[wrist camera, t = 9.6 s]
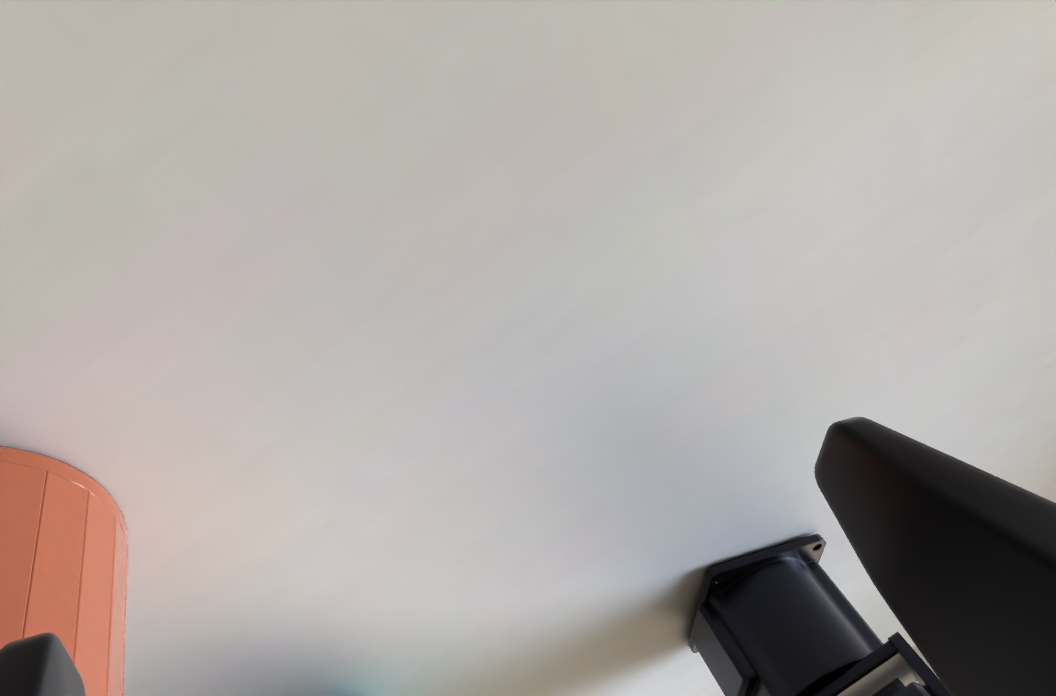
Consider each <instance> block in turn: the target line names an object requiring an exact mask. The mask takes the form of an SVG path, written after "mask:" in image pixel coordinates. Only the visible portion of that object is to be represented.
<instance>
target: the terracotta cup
mask: <svg viewBox="0 0 1056 696" xmlns="http://www.w3.org/2000/svg"><path fill="white" fill-rule="evenodd" d="M127 558H128V545H127V528H126V524H125V520H124V517H123V514H122V512H121V511H120V509H119V507H118V505H117V503H116V502H115V501H114V499H113V498H112V497H111V496H110V494H109V493H108V492H107V491H106V490H105V489H104V488H103V487H102V486H101V485H100V484H98V483H97V482H96V481H95V480H93V479H92V478H91V477H89V476H88V475H86V474H85V473H83V472H82V471H80V470H78V469H76V468H74V467H72V466H70V465H68V464H66V463H64V462H61V461H58V460H56V459H53V458H51V457H48V456H45V455H41V454H38V453H34V452H30V451H26V450H21V449H16V448H10V447H3V446H0V650H1V648H3V647H4V646H5V645H6V644H8V643H10V642H12V641H15V640H19V639H23V638H27V637H31V636H34V635H38V634H42V633H47V632H51V633H54V634H55V635H57V636H58V637H59V639H60V640H61V642H62V644H63V646H64V647H65V649H66V651H67V653H68V654H69V656H70V658H71V660H72V661H73V663H74V665H75V667H76V669H77V670H78V672H79V674H80V676H81V678H82V681H83V684H84V688H85V694H86V696H123V678H124V648H125V618H126V588H127Z"/></svg>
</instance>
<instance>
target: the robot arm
mask: <svg viewBox="0 0 1056 696" xmlns="http://www.w3.org/2000/svg"><path fill="white" fill-rule="evenodd" d="M815 478H816V481H817V484H818V486H819V488H820V490H821V492H822V494H823V495H824V497H825V499H826V501H827V502H828V504H829V506H830V508H831V510H832V511H833V513H834V515H835V517H836V518H837V520H838V522H839V524H840V526H841V527H842V529H843V531H844V533H845V534H846V536H847V538H848V540H849V542H850V543H851V545H852V547H853V549H854V550H855V552H856V554H857V556H858V558H859V559H860V561H861V563H862V565H863V566H864V568H865V570H866V572H867V573H868V575H869V577H870V578H871V580H872V582H873V583H874V585H875V586H876V588H877V589H878V591H879V592H880V594H881V596H882V597H883V599H884V600H885V602H886V603H887V604H888V606H889V607H890V609H891V610H892V612H893V613H894V614H895V616H896V617H897V619H898V620H899V622H900V623H901V625H902V626H903V627H904V629H905V630H906V632H907V633H908V635H909V636H910V637H911V639H912V640H913V642H914V643H915V645H916V646H917V647H918V649H919V650H920V652H921V653H922V655H923V656H924V657H925V659H926V660H927V662H928V663H929V665H930V666H931V667H932V669H933V670H934V672H935V673H936V675H937V676H938V678H939V679H940V680H941V681H940V680H939V679H938V678H937V676H936V675H935V674H934V673H933V672H932V671H931V669H930V668H929V667H928V666H927V665H926V664H925V662H924V661H923V660H922V659H921V658H920V657H919V656H918V654H917V653H916V652H915V651H914V650H913V649H912V647H911V646H910V645H909V644H908V643H907V642H906V641H905V639H904V638H903V637H902V636H901V635H900V634H899V633H898V632H896V633H895V634H893V635H892V636H891V637H889V638H888V640H889V641H887V642H886V643H884V644H883V643H882V642H881V640H880V639H879V638H878V637H877V636H876V634H875V633H874V632H873V631H872V629H871V628H870V627H869V626H868V624H867V623H866V622H865V621H864V619H863V618H862V617H861V616H860V615H859V613H858V612H857V611H856V610H855V608H854V607H853V606H852V605H851V603H850V602H849V601H848V600H847V598H846V597H845V596H844V595H843V594H842V592H841V591H840V590H839V589H838V587H837V586H836V585H835V584H834V582H833V581H832V580H831V579H830V577H829V576H828V575H827V574H826V573H825V571H824V570H823V569H822V568H821V566H820V565H819V564H818V563H819V560H820V558H821V555H822V553H823V550H824V547H825V545H826V542H825V540H824V539H823V538H822V537H821V536H820V535H819V534H816V535H812V536H809V537H806V538H803V539H799V540H796V541H793V542H790V543H787V544H783V545H780V546H777V547H774V548H771V549H768V550H764V551H761V552H758V553H755V554H752V555H748V556H745V557H742V558H739V559H736V560H733V561H729V562H726V563H723V564H720V565H717V566H714V567H713V568H711V569H710V570H709V571H708V572H707V574H706V576H705V580H704V584H703V588H702V591H701V595H700V599H699V603H698V607H697V610H696V614H695V618H694V622H693V626H692V629H691V633H690V637H689V641H688V645H689V647H690V649H691V651H692V652H693V653H697V652H699V653H700V655H701V656H702V658H703V660H704V661H705V663H706V665H707V666H708V668H709V670H710V671H711V673H712V675H713V676H714V678H715V680H716V681H717V683H718V685H719V686H720V688H721V690H722V691H723V693H724V695H725V696H1056V503H1054V502H1052V501H1050V500H1047V499H1045V498H1043V497H1041V496H1038V495H1036V494H1034V493H1032V492H1030V491H1027V490H1025V489H1023V488H1021V487H1018V486H1016V485H1014V484H1012V483H1010V482H1007V481H1005V480H1003V479H1001V478H998V477H996V476H994V475H992V474H989V473H987V472H985V471H983V470H981V469H978V468H976V467H974V466H972V465H969V464H967V463H965V462H963V461H961V460H958V459H956V458H954V457H952V456H949V455H947V454H945V453H943V452H941V451H938V450H936V449H934V448H932V447H929V446H927V445H925V444H923V443H921V442H918V441H916V440H914V439H912V438H909V437H907V436H905V435H903V434H901V433H898V432H896V431H894V430H892V429H889V428H887V427H885V426H883V425H881V424H878V423H876V422H874V421H872V420H869V419H867V418H864V417H853V418H849V419H846V420H842V421H838V422H835V423H833V424H832V425H831V426H830V427H829V429H828V430H827V433H826V436H825V439H824V441H823V444H822V447H821V450H820V453H819V456H818V459H817V461H816V464H815ZM916 681H919V683H920V684H918V683H915V682H916ZM0 696H86V694H85V688H84V684H83V681H82V678H81V676H80V674H79V672H78V670H77V669H76V667H75V665H74V663H73V661H72V660H71V658H70V656H69V654H68V653H67V651H66V649H65V647H64V646H63V644H62V642H61V640H60V639H59V637H58V636H57V635H55V634H54V633H51V632H47V633H42V634H38V635H34V636H31V637H27V638H23V639H19V640H15V641H12V642H10V643H8V644H6V645H5V646H4V647H3V648H1V650H0Z"/></svg>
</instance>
